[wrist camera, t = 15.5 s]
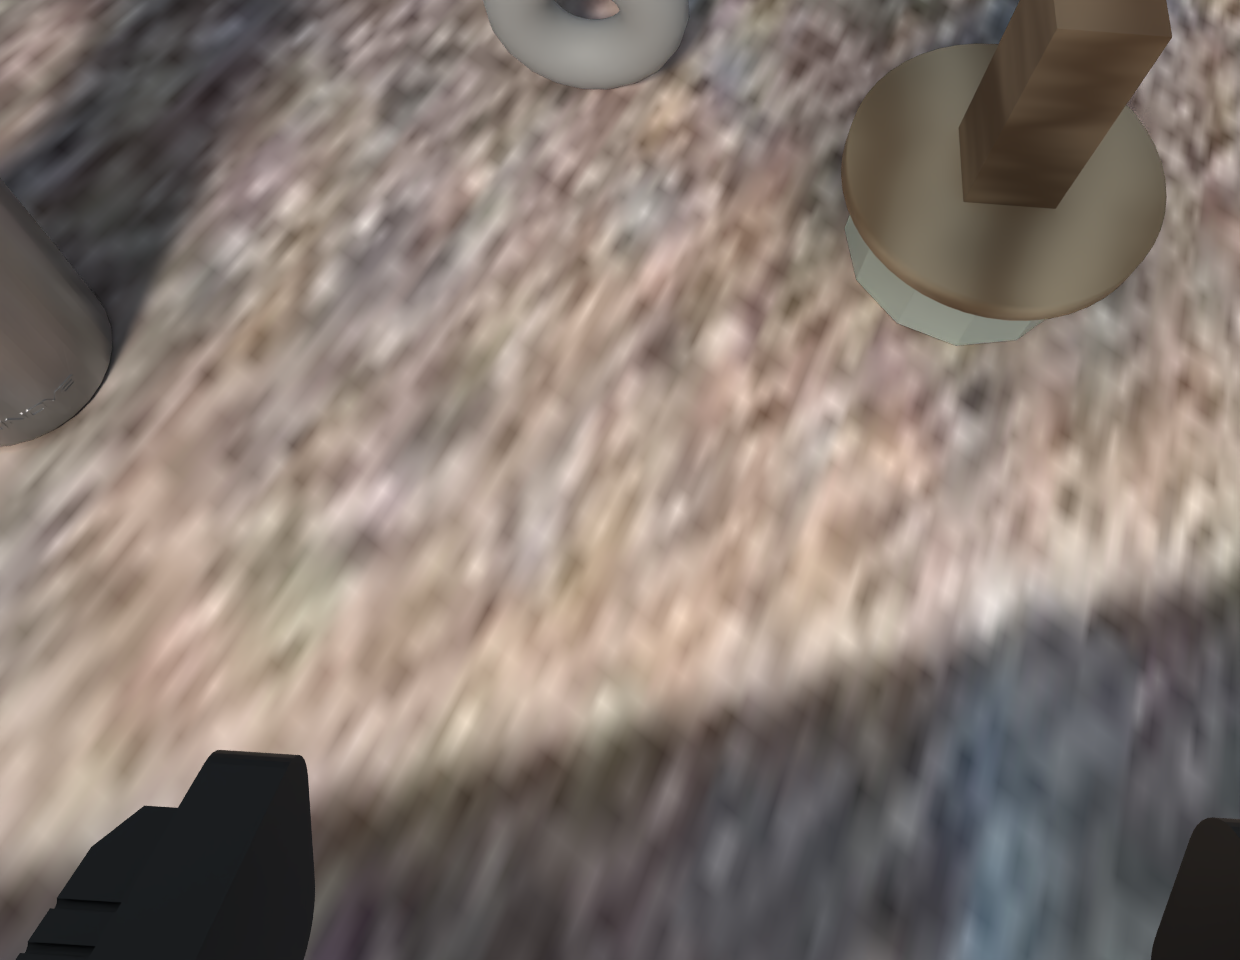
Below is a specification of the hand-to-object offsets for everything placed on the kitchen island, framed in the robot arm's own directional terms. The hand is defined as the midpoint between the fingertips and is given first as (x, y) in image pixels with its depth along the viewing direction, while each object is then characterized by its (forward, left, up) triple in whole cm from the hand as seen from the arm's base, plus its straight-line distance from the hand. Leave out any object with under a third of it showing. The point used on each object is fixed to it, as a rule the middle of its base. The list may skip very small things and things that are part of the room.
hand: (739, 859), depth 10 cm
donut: (-33, +22, -34) cm, 52 cm away
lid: (-14, +31, -29) cm, 44 cm away
